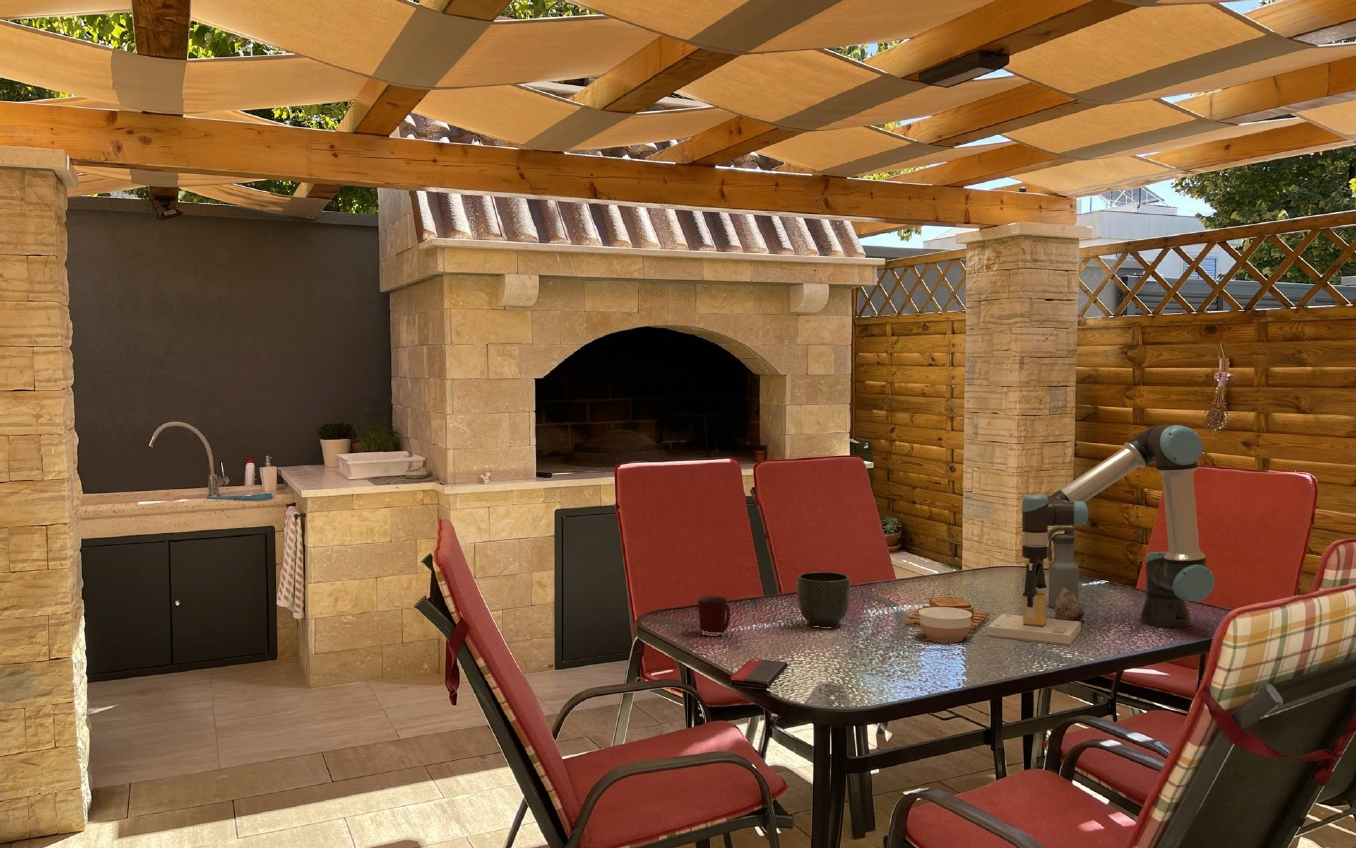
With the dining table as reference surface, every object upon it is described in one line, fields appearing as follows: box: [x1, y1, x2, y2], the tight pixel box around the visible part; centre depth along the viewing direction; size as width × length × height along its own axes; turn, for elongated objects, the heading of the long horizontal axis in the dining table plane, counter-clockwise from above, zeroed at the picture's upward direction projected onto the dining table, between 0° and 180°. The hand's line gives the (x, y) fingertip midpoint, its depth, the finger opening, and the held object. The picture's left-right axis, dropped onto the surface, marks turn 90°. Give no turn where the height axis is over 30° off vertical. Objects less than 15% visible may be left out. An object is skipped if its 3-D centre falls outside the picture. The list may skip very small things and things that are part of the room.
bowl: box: [918, 606, 973, 643], centre depth 314 cm, size 16×16×8 cm
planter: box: [796, 571, 851, 629], centre depth 332 cm, size 17×17×16 cm
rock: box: [1053, 588, 1085, 622], centre depth 338 cm, size 9×12×10 cm
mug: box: [697, 595, 731, 633], centre depth 320 cm, size 12×9×11 cm
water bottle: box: [1047, 526, 1080, 609], centre depth 355 cm, size 10×10×28 cm
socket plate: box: [987, 613, 1082, 646], centre depth 318 cm, size 24×20×4 cm
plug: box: [1022, 590, 1047, 627], centre depth 318 cm, size 6×5×13 cm
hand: (1035, 613), depth 318 cm, fingers open, 13 cm apart
